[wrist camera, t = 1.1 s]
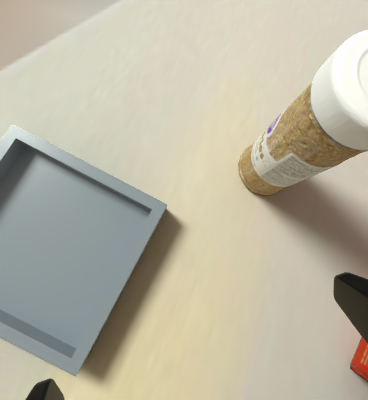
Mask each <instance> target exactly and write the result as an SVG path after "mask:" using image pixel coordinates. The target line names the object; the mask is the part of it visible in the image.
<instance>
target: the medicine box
mask: <svg viewBox="0 0 368 400" xmlns="http://www.w3.org/2000/svg"><path fill="white" fill-rule="evenodd" d="M350 369H352V370H353V371H354V372H355V373H357V374H358V375H360V376H361V377H363V378H364V379H365V380H367V381H368V344H367V343H366V341H365V340H364V339H363V337H362V338H361V340H360V343H359V345H358V348H357V350H356V352H355V355H354V357H353V359H352V361H351V365H350Z"/></svg>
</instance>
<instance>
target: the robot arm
mask: <svg viewBox="0 0 368 400" xmlns="http://www.w3.org/2000/svg"><path fill="white" fill-rule="evenodd" d="M334 298H335V300H336V302H337V303H338V305H339V306H340V308H341V309H342V310H343V312H344V313H345V314H346V316H347V317H348V318H349V320H350V321H351V322H352V324H353V325H354V327H355V328H356V329H357V331H358V332H359V333H360V335H361V336H362V337H363V339H364V340H365V341H366V343H367V344H368V279H365V278H363V277H360V276H357V275H354V274H351V273H348V272H345V273H342V274H339V275H336V276H335V278H334ZM26 400H64V396H63V394H62V392H61V391H60V389H59V387H58V386H57V384H56V383H55V381H54V380H53V379H47V380H44V381H41V382H39V383H37V384H36V385H35V386H34V387H33V389H32V390H31V392H30V393H29V395H28V396H27V398H26Z"/></svg>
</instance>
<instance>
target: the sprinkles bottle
mask: <svg viewBox="0 0 368 400" xmlns="http://www.w3.org/2000/svg"><path fill="white" fill-rule="evenodd" d="M365 151H368V30H366V31H362V32H360V33H357V34H355V35H353V36H352V37H350V38H349V39H347V40H346V41H345V42H344V43H343V44H342V45H341V46H340V47H339V48H338V49H337V50H336V51H335V52H334V53H333V54H332V55H331V56H330V57H329V58H328V59H327V60H326V61H325V63H324V64H323V65H322V66H321V67H320V68H319V70H318V71H317V73H316V75H315V77H314V79H313V82H312V83H311V84H310V85H309V86H308V88H307V89H306V90H305V91H304V92H303V93H302V94H301V95H300V96H299V97H298V98H297V99H296V100H295V101H294V102H293V103H292V104H291V105H290V106H289V107H287V108H286V109H285V110H284V111H283V112H282V113H281V114H280V115H279V117H278V118H277V119H276V120H275V121H274V122H273V123H272V124H271V125H270V126H269V127H268V128H267V129H266V130H265V131H264V132H263V133H262V134H261V135H260V136H259V137H258V138H257V140H256V141H255V142H254V143H253V144H252V145H251V146H249V147H248V148H247V149H245V151H244V152H243V153H242V155H241V156H240V160H239V164H238V166H239V175H240V177H241V180H242V182H243V183H244V184H245V185H246V186H247V187H248V188H249V189H250V190H251V191H253V192H254V193H258V194H261V195H271V194H275V193H276V192H279V191H281V190H282V189H283V188H284V187H287V186H291V185H294V184H296V183H298V182H300V181H303V180H305V179H307V178H309V177H312V176H314V175H316V174H318V173H321V172H323V171H325V170H327V169H330V168H332V167H334V166H336V165H338V164H340V163H342V162H343V161H345V160H347V159H349V158H351V157H354V156H356V155H358V154H360V153H362V152H365Z"/></svg>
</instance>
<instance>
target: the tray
mask: <svg viewBox="0 0 368 400" xmlns="http://www.w3.org/2000/svg"><path fill="white" fill-rule="evenodd" d="M166 208H167V204H165V203H163V202H161V201H159V200H157V199H155V198H153V197H152V196H150V195H148V194H146V193H144V192H142V191H140V190H138V189H136V188H134V187H132V186H131V185H129V184H127V183H125V182H123V181H121V180H119V179H117V178H115V177H113V176H111V175H109V174H108V173H106V172H104V171H102V170H100V169H98V168H96V167H94V166H92V165H90V164H88V163H87V162H85V161H83V160H81V159H79V158H77V157H75V156H73V155H71V154H69V153H67V152H65V151H64V150H62V149H60V148H58V147H56V146H54V145H52V144H50V143H48V142H46V141H44V140H42V139H41V138H39V137H37V136H35V135H33V134H31V133H29V132H27V131H25V130H23V129H21V128H20V127H18V126H16V125H14V124H12V125H11V126H10V128H9V129H8V131H7V132H6V134H5V135H4V136H3V138H2V139H1V141H0V338H2V339H4V340H6V341H8V342H10V343H12V344H14V345H16V346H18V347H20V348H22V349H24V350H25V351H27V352H29V353H31V354H33V355H35V356H37V357H39V358H41V359H43V360H45V361H47V362H49V363H51V364H53V365H54V366H56V367H58V368H60V369H62V370H64V371H66V372H68V373H70V374H72V375H74V376H76V375H77V374H78V372H79V371H80V369H81V367H82V366H83V364H84V363H85V361H86V359H87V357H88V355H89V353H90V351H91V350H92V348H93V346H94V344H95V342H96V340H97V338H98V336H99V334H100V333H101V331H102V329H103V327H104V325H105V323H106V321H107V319H108V317H109V316H110V314H111V312H112V310H113V308H114V306H115V304H116V302H117V301H118V299H119V297H120V295H121V293H122V291H123V289H124V287H125V285H126V284H127V282H128V280H129V278H130V276H131V274H132V272H133V270H134V269H135V267H136V265H137V263H138V261H139V259H140V257H141V255H142V253H143V252H144V250H145V248H146V246H147V244H148V242H149V240H150V238H151V237H152V235H153V233H154V231H155V229H156V227H157V225H158V223H159V221H160V220H161V218H162V216H163V214H164V212H165V210H166Z"/></svg>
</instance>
